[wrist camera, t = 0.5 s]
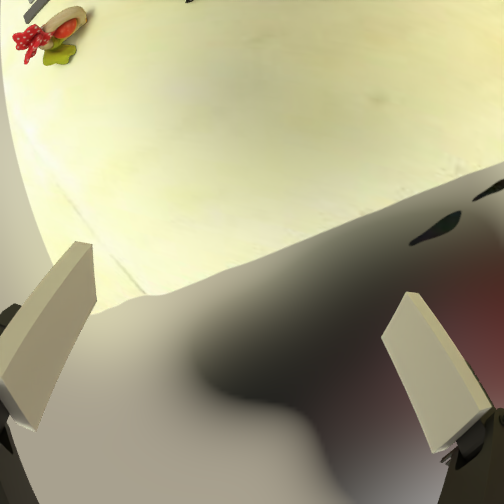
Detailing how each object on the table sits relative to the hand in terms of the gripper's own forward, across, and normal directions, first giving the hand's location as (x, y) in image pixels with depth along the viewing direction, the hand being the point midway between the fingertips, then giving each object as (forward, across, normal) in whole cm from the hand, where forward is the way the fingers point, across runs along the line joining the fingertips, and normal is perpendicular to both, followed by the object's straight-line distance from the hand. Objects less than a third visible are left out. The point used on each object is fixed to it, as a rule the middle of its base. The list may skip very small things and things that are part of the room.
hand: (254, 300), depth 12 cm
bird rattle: (+30, -26, +15) cm, 42 cm away
